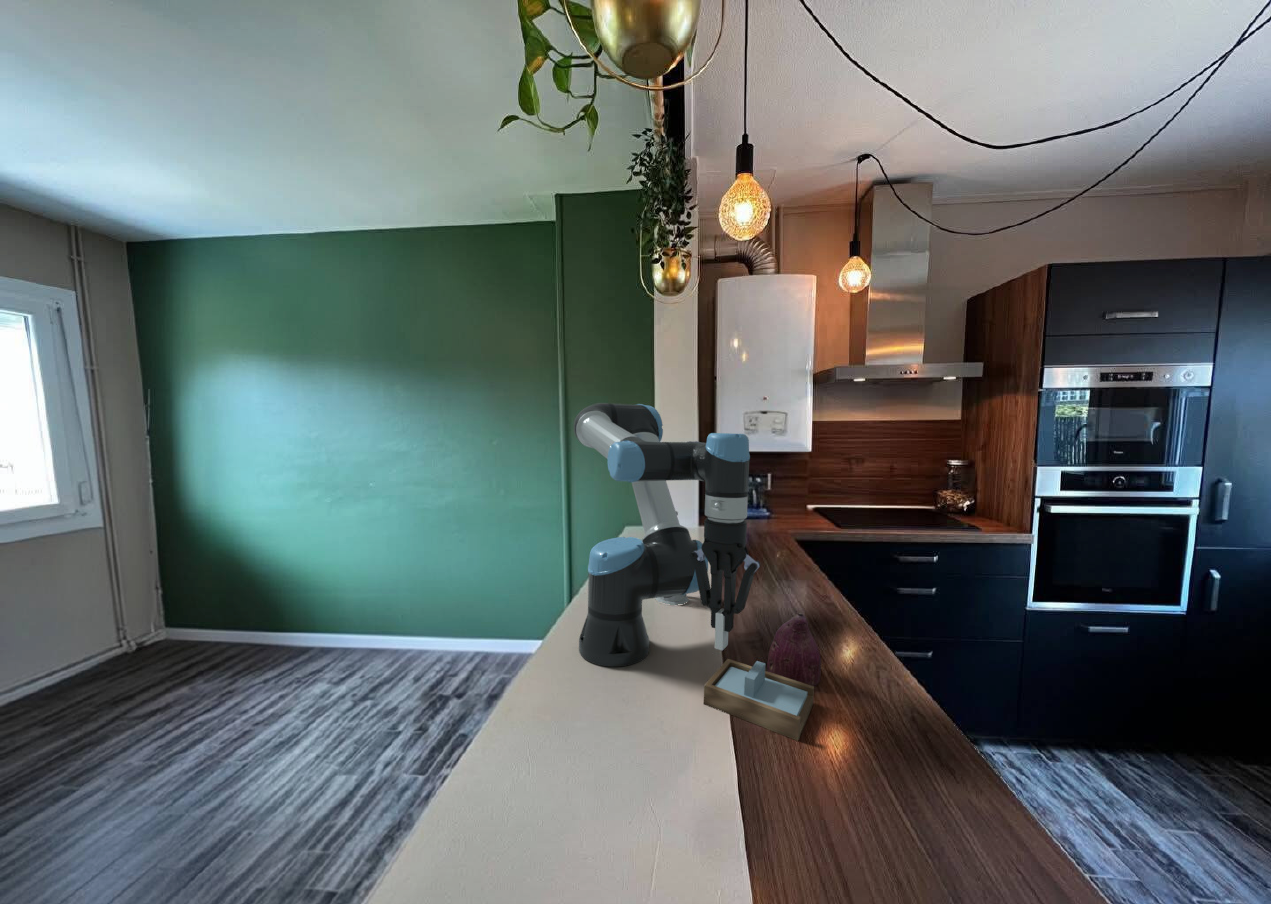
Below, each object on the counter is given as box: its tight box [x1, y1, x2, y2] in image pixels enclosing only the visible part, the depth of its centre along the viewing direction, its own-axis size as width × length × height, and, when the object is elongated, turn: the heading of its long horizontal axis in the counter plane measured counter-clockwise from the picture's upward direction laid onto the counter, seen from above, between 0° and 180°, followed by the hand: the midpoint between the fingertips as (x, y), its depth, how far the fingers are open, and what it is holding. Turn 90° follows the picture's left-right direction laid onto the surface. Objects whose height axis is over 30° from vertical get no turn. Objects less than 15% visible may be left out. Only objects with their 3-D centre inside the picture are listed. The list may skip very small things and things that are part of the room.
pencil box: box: [703, 658, 815, 742], centre depth 79 cm, size 16×11×3 cm
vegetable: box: [766, 612, 822, 687], centre depth 87 cm, size 10×10×15 cm
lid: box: [715, 660, 808, 716], centre depth 78 cm, size 14×8×4 cm, turn 57°
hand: (721, 646), depth 82 cm, fingers closed
